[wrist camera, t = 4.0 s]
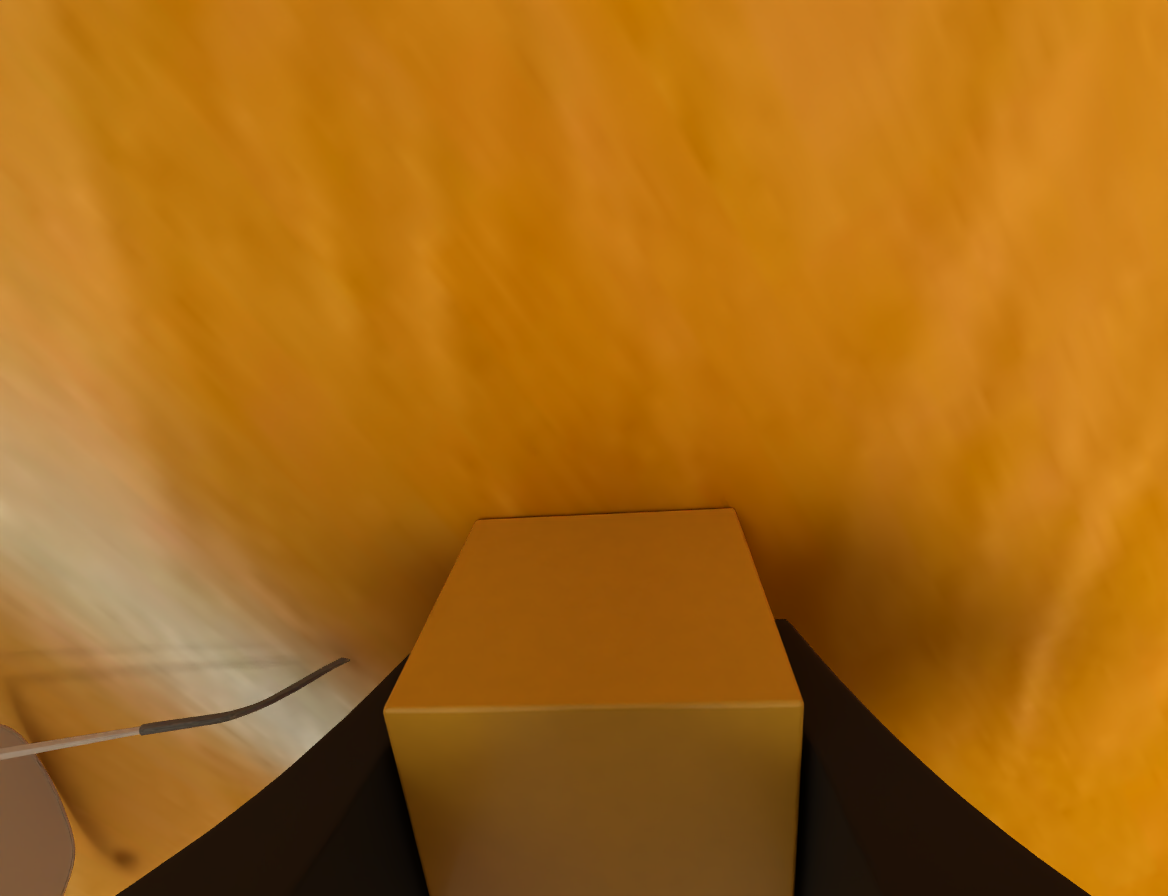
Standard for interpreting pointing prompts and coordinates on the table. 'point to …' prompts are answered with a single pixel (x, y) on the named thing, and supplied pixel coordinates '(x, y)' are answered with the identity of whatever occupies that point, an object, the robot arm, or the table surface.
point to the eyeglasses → (36, 814)
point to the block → (602, 714)
